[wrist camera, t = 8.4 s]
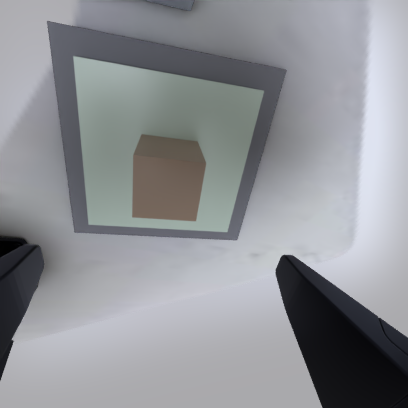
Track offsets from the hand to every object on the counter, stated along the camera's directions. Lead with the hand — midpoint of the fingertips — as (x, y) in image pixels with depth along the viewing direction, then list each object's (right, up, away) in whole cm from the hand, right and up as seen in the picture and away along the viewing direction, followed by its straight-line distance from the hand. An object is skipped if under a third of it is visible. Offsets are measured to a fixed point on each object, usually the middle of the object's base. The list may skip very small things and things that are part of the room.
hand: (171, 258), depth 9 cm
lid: (-2, +5, +9) cm, 11 cm away
